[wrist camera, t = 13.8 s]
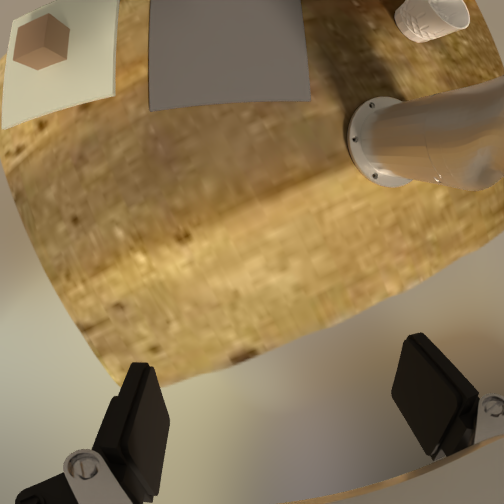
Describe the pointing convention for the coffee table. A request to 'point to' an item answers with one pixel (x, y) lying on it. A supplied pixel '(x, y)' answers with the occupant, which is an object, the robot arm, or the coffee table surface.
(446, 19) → the white cup
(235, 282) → the coffee table surface
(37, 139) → the coffee table surface
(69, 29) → the lid sheet
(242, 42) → the mat
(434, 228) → the coffee table surface
